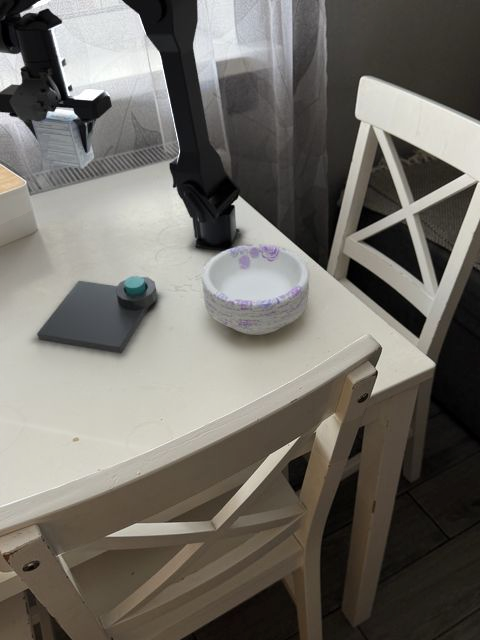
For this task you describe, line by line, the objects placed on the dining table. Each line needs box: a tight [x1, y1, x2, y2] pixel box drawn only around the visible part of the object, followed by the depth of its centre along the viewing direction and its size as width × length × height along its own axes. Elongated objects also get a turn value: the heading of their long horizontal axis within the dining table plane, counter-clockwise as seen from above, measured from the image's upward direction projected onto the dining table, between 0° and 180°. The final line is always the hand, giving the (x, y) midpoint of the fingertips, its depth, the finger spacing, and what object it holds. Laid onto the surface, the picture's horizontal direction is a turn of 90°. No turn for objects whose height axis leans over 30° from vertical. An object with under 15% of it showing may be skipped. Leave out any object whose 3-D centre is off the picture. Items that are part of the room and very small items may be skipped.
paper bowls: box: [201, 243, 310, 336], centre depth 86 cm, size 15×15×8 cm
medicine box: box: [32, 108, 95, 170], centre depth 104 cm, size 8×4×9 cm, turn 71°
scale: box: [36, 275, 158, 354], centre depth 89 cm, size 14×14×3 cm
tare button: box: [124, 275, 146, 296], centre depth 90 cm, size 3×3×2 cm
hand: (66, 150), depth 106 cm, fingers closed on medicine box, 8 cm apart
